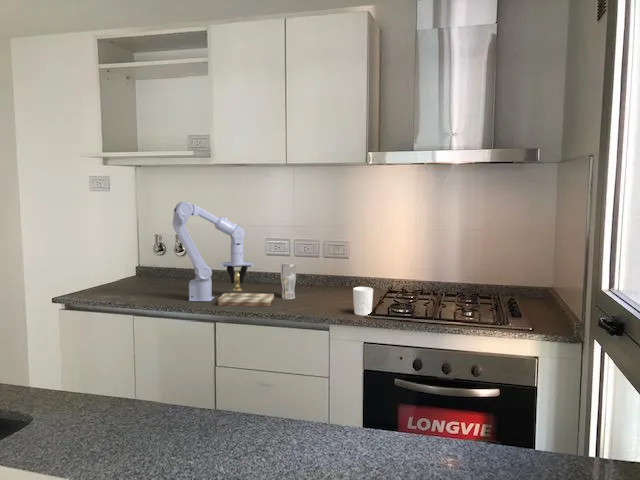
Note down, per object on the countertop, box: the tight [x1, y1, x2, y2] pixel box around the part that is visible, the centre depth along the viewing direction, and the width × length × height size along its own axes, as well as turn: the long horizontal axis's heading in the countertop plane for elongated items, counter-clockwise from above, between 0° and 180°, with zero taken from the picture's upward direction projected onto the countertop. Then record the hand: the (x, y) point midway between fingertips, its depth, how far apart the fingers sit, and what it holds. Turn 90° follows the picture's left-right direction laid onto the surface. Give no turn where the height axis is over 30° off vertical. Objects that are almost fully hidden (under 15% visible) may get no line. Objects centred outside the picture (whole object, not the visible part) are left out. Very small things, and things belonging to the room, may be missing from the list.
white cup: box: [352, 286, 374, 317], centre depth 206 cm, size 8×8×10 cm
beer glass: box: [280, 263, 297, 300], centre depth 234 cm, size 7×7×15 cm
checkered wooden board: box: [217, 292, 275, 307], centre depth 224 cm, size 22×12×3 cm, turn 88°
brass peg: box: [232, 269, 243, 292], centre depth 235 cm, size 4×4×9 cm
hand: (237, 283), depth 235 cm, fingers closed on brass peg, 4 cm apart
